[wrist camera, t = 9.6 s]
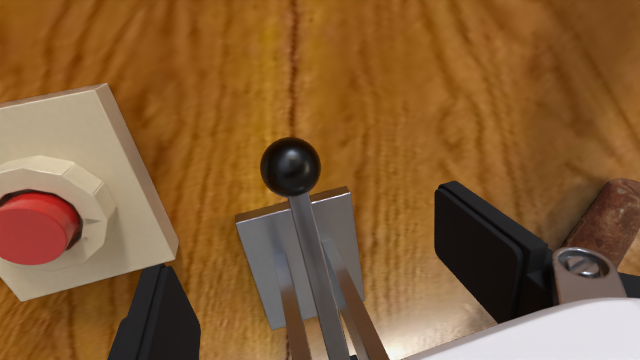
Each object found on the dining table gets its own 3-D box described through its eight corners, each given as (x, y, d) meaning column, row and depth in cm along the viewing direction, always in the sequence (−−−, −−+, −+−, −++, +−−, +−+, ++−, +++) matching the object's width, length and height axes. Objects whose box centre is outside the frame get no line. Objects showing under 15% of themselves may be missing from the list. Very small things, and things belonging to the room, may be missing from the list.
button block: (-84, 119, 18) (-159, 144, 15) (107, 82, 20) (81, 96, 16) (37, 279, 24) (4, 324, 20) (179, 241, 25) (171, 277, 22)
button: (-14, 201, 17) (-37, 218, 16) (59, 184, 18) (43, 199, 16) (25, 253, 19) (8, 273, 18) (91, 236, 20) (79, 254, 18)
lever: (254, 147, 19) (251, 142, 16) (308, 134, 19) (316, 127, 16) (322, 408, 20) (332, 453, 17) (372, 390, 20) (391, 430, 17)
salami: (503, 311, 39) (541, 352, 35) (601, 168, 33) (665, 194, 28) (539, 314, 42) (580, 353, 37) (638, 180, 35) (704, 206, 30)
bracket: (234, 215, 25) (239, 393, 13) (346, 185, 27) (442, 324, 15) (270, 320, 31) (296, 512, 19) (360, 291, 32) (438, 455, 20)
